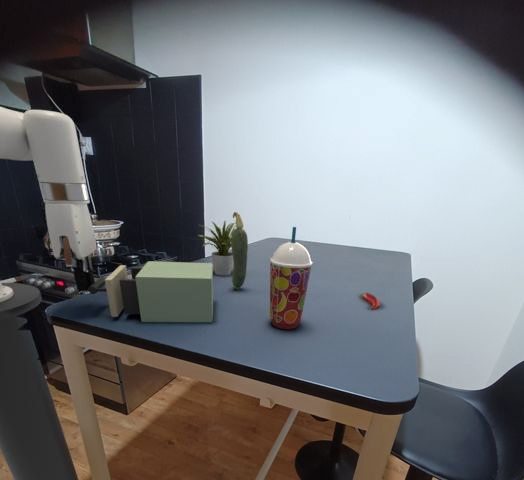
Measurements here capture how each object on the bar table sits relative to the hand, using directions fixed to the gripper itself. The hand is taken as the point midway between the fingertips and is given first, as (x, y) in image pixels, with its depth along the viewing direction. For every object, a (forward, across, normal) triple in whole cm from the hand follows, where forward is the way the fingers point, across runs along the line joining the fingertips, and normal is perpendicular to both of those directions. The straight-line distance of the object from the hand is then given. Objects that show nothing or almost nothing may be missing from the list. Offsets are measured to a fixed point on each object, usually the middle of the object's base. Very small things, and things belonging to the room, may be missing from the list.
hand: (87, 289), depth 67 cm
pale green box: (+5, 0, +19) cm, 20 cm away
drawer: (+4, 0, +10) cm, 11 cm away
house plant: (+5, -34, +29) cm, 45 cm away
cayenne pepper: (+6, -8, +69) cm, 69 cm away
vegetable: (+5, -16, +33) cm, 37 cm away
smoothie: (+5, +7, +42) cm, 43 cm away
